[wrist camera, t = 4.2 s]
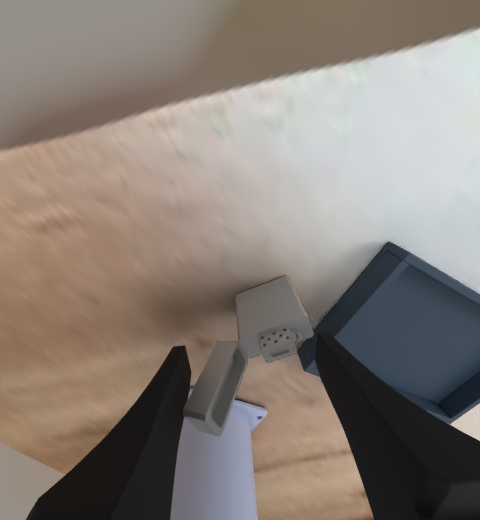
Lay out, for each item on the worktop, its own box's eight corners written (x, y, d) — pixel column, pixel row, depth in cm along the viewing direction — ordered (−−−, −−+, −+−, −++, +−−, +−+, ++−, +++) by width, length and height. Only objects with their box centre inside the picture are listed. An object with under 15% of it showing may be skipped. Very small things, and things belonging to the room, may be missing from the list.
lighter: (287, 274, 16) (338, 376, 9) (294, 293, 17) (346, 400, 10) (197, 308, 17) (178, 427, 10) (207, 324, 18) (197, 445, 11)
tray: (432, 403, 24) (450, 424, 22) (296, 351, 19) (303, 371, 18) (532, 327, 20) (563, 344, 18) (388, 241, 16) (409, 252, 14)
